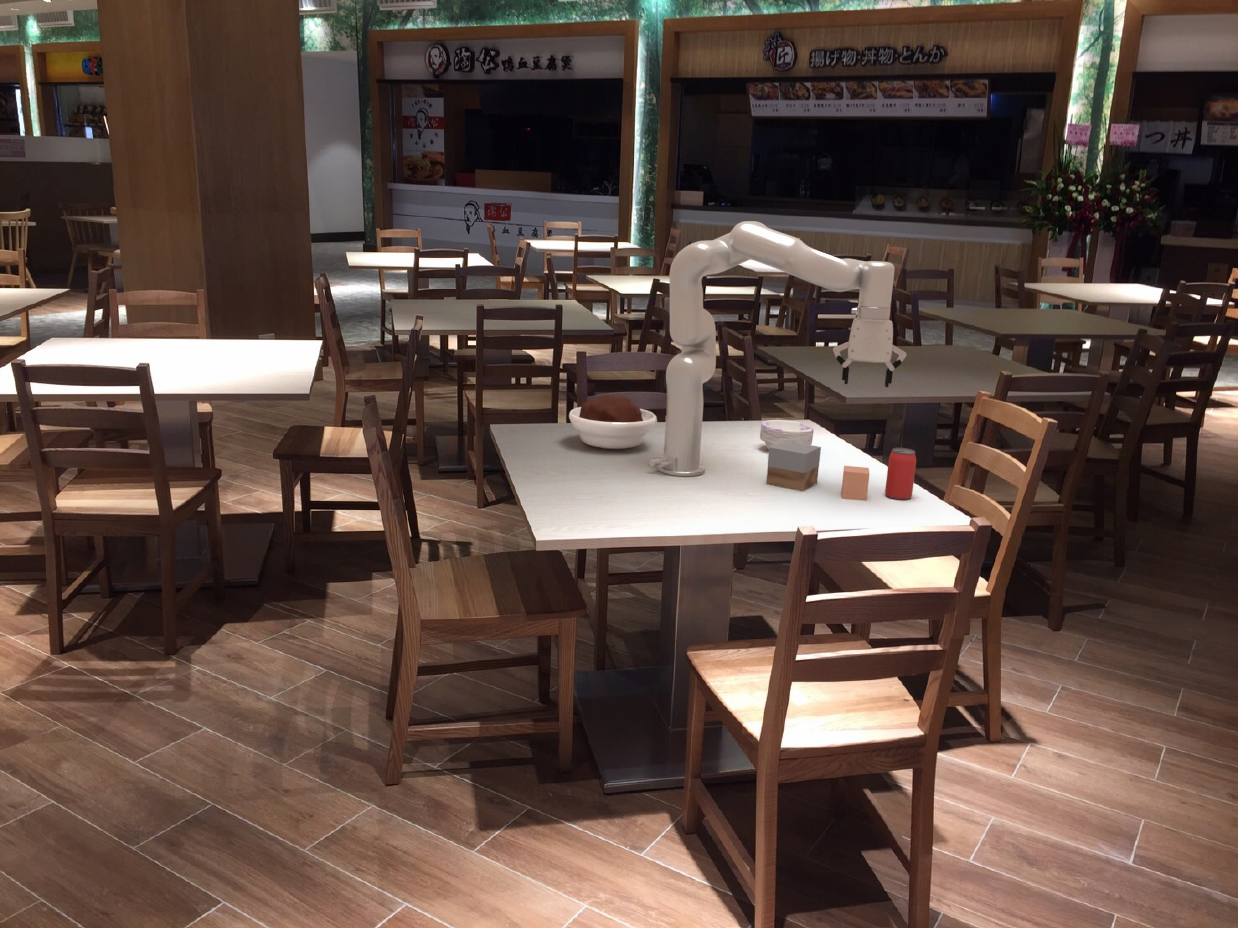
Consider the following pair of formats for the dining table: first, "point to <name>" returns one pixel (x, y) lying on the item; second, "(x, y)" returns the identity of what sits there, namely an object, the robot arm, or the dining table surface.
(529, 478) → the dining table surface
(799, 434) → the paper bowls
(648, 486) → the dining table surface
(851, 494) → the terracotta block
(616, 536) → the dining table surface
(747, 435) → the dining table surface
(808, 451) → the slate slab
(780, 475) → the walnut slab
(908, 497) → the beer can
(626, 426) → the bowl of brown food
